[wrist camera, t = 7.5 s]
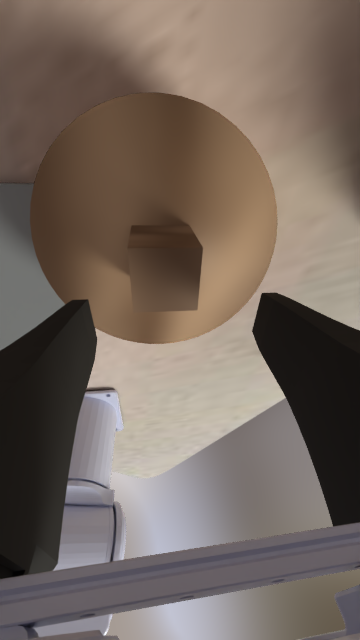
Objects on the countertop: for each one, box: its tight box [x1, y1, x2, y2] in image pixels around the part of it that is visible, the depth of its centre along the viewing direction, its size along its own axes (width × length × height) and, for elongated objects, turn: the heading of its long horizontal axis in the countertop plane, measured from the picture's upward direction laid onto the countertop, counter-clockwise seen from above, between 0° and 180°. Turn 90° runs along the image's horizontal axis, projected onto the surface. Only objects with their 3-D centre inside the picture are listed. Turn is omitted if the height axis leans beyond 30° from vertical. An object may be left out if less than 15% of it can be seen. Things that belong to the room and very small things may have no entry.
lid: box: [30, 93, 277, 344], centre depth 12 cm, size 13×13×4 cm
